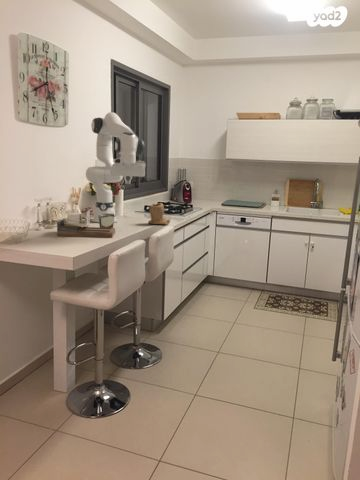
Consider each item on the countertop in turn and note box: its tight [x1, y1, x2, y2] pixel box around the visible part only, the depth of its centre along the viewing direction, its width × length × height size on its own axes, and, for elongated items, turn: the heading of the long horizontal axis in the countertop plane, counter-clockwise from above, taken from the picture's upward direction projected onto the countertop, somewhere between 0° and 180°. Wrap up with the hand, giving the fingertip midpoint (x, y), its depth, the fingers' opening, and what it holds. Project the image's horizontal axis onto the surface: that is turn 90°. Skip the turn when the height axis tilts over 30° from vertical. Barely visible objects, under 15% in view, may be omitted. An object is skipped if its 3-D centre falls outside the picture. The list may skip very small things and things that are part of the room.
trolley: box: [64, 207, 91, 229], centre depth 246 cm, size 10×13×12 cm
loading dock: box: [56, 218, 116, 239], centre depth 247 cm, size 15×32×8 cm, turn 93°
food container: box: [98, 213, 116, 228], centre depth 265 cm, size 12×6×10 cm, turn 141°
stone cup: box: [147, 202, 171, 226], centre depth 291 cm, size 15×12×15 cm
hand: (127, 183), depth 246 cm, fingers closed
